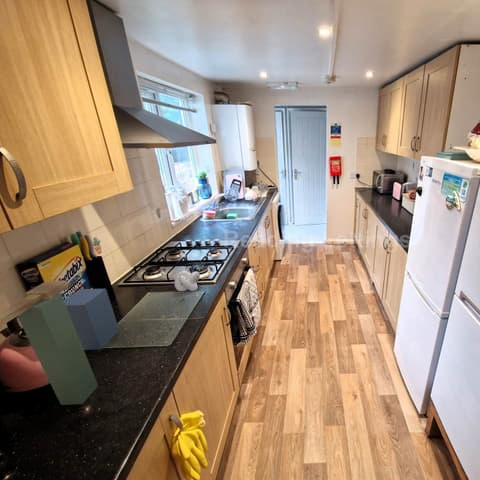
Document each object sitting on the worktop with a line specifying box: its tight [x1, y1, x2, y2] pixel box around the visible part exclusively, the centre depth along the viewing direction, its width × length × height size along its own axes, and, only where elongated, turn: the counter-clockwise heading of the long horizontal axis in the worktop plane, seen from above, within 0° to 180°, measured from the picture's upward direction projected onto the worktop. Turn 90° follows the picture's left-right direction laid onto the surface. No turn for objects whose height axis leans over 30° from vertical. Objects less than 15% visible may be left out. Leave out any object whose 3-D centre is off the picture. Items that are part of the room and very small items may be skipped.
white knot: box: [173, 270, 201, 292], centre depth 132 cm, size 11×12×9 cm
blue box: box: [63, 288, 120, 351], centre depth 95 cm, size 9×10×20 cm
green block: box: [16, 293, 99, 406], centre depth 72 cm, size 6×6×34 cm
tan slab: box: [0, 280, 70, 328], centre depth 62 cm, size 18×5×2 cm, turn 3°
